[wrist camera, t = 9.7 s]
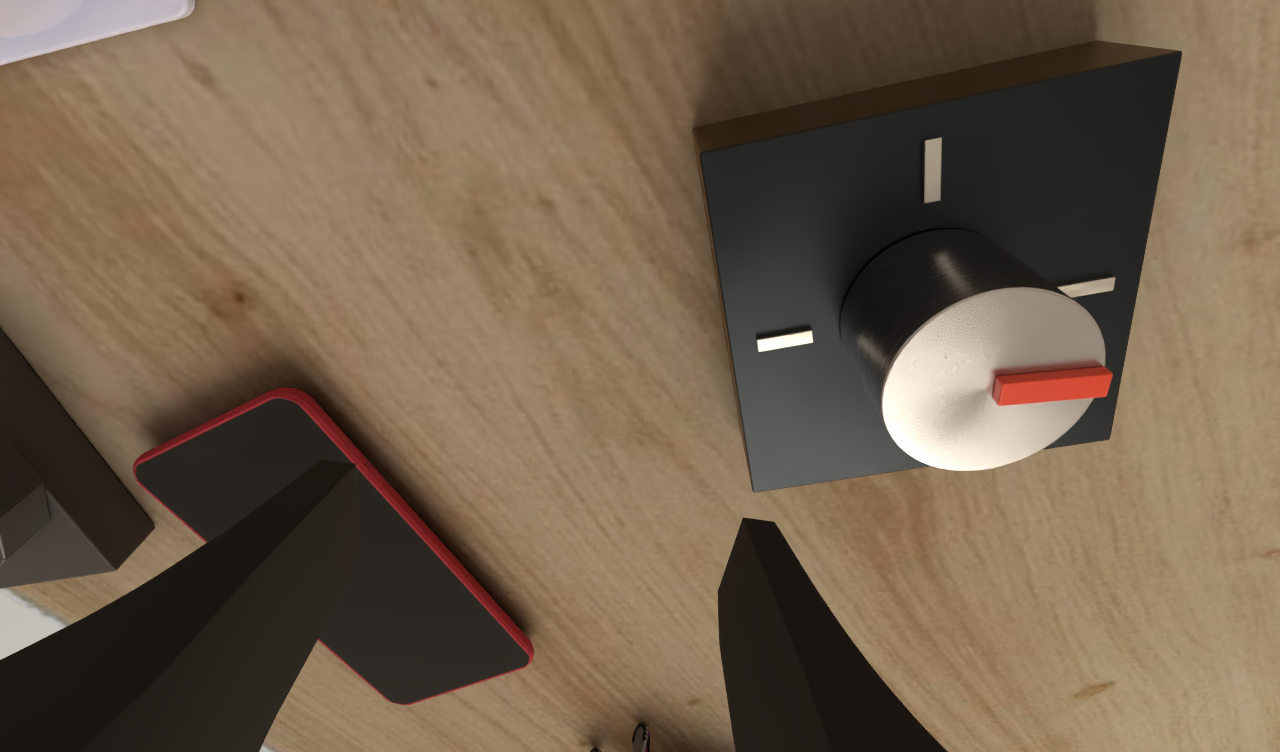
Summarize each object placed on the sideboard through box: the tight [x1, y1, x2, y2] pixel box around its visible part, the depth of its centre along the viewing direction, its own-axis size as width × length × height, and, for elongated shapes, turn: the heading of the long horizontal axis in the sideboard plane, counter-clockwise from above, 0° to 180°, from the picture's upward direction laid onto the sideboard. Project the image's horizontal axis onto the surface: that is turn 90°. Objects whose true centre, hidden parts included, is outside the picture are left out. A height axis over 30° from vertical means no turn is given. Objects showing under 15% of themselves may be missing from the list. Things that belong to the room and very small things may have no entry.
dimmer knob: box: [840, 229, 1113, 471], centre depth 15 cm, size 4×4×4 cm
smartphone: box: [133, 387, 534, 705], centre depth 25 cm, size 7×1×15 cm
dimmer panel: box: [692, 41, 1182, 492], centre depth 18 cm, size 10×10×3 cm
